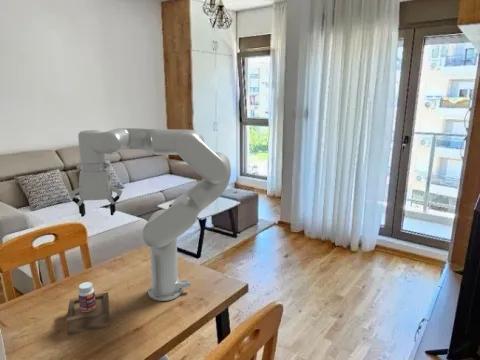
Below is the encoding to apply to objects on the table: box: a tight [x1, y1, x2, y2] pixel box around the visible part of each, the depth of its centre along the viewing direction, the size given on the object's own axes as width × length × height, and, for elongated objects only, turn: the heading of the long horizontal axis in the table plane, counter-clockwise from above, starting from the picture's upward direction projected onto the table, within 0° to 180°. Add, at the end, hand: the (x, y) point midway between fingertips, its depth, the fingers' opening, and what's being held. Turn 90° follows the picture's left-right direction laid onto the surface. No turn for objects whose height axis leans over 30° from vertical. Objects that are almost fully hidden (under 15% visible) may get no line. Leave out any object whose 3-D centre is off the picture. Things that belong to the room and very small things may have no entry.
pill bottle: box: [78, 281, 96, 312], centre depth 111 cm, size 5×5×8 cm
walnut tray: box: [65, 291, 111, 336], centre depth 113 cm, size 12×12×5 cm
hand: (98, 214), depth 122 cm, fingers open, 9 cm apart
